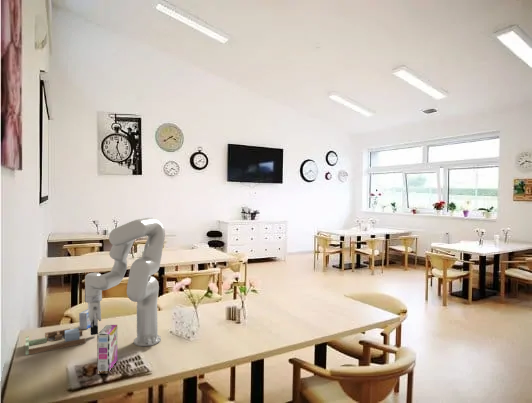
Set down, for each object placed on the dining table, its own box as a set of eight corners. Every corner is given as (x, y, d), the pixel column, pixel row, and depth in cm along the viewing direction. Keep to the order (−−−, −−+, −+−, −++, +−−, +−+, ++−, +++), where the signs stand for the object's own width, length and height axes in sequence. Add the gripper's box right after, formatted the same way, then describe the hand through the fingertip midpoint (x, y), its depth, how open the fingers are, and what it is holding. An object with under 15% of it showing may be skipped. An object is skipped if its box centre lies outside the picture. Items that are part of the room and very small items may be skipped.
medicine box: (86, 329, 199) (86, 313, 199) (79, 329, 200) (78, 312, 200) (96, 324, 207) (96, 308, 207) (89, 323, 208) (88, 308, 208)
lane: (85, 343, 182) (84, 335, 182) (25, 355, 169) (25, 346, 169) (80, 331, 197) (80, 323, 197) (26, 341, 184) (25, 333, 184)
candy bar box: (109, 374, 151) (109, 334, 151) (97, 375, 151) (96, 334, 150) (118, 361, 162) (117, 324, 162) (106, 362, 162) (105, 324, 161)
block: (79, 342, 183) (79, 332, 183) (65, 344, 180) (65, 334, 180) (78, 338, 188) (78, 328, 188) (64, 340, 185) (64, 330, 185)
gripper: (104, 300, 185) (104, 337, 185) (99, 293, 197) (100, 327, 198) (87, 303, 181) (88, 340, 181) (83, 295, 193) (84, 330, 194)
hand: (94, 334), depth 190 cm, fingers closed
